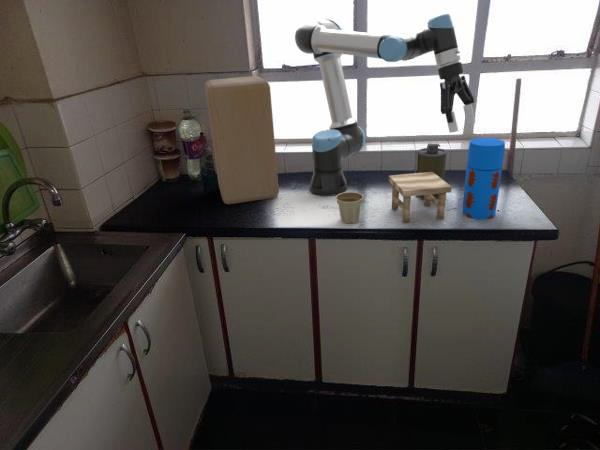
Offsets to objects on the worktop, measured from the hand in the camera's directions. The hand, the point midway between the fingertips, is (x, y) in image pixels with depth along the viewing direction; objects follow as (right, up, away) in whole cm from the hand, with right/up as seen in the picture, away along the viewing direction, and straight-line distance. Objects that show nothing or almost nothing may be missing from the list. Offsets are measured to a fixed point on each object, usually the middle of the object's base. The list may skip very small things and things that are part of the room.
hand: (462, 127), depth 150 cm
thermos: (+6, -30, +1) cm, 30 cm away
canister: (-6, -22, +19) cm, 30 cm away
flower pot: (-38, -32, +2) cm, 50 cm away
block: (-77, -20, +32) cm, 86 cm away
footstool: (-15, -29, +4) cm, 33 cm away
